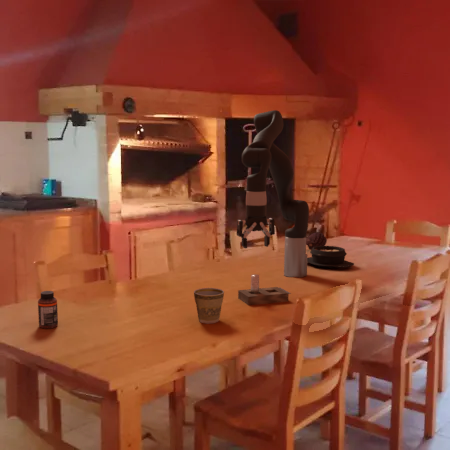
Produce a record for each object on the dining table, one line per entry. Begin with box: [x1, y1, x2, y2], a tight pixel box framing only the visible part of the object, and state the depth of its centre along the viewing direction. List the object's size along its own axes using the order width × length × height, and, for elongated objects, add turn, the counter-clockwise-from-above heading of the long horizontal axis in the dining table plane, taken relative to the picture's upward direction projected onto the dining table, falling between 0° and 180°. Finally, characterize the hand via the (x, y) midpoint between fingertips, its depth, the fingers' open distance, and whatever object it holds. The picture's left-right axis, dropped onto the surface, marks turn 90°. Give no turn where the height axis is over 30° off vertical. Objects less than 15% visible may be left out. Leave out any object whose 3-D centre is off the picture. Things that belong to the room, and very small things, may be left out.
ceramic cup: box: [193, 287, 225, 325], centre depth 212 cm, size 13×10×10 cm
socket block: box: [237, 286, 290, 306], centre depth 237 cm, size 16×10×4 cm, turn 110°
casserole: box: [307, 245, 355, 269], centre depth 298 cm, size 25×19×8 cm
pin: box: [250, 274, 260, 294], centre depth 235 cm, size 3×3×10 cm
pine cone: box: [306, 231, 328, 251], centre depth 335 cm, size 18×10×10 cm, turn 137°
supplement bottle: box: [37, 290, 59, 329], centre depth 204 cm, size 6×6×11 cm
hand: (255, 247), depth 234 cm, fingers open, 8 cm apart
